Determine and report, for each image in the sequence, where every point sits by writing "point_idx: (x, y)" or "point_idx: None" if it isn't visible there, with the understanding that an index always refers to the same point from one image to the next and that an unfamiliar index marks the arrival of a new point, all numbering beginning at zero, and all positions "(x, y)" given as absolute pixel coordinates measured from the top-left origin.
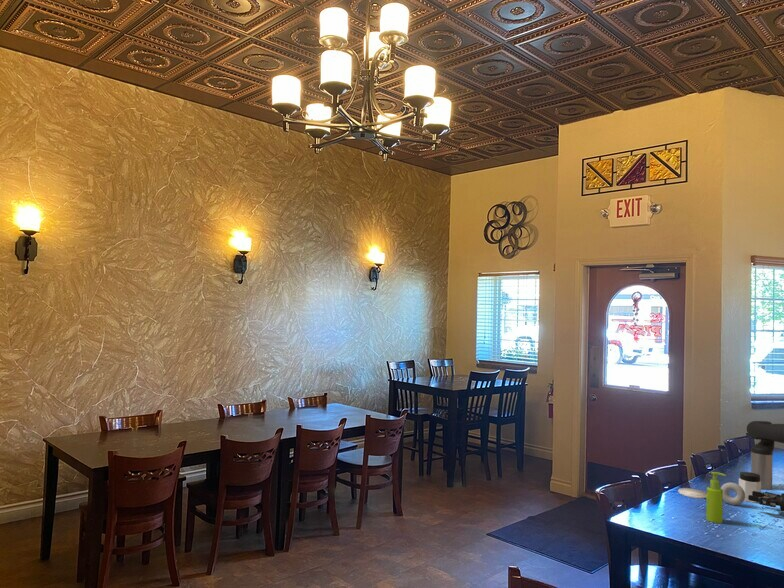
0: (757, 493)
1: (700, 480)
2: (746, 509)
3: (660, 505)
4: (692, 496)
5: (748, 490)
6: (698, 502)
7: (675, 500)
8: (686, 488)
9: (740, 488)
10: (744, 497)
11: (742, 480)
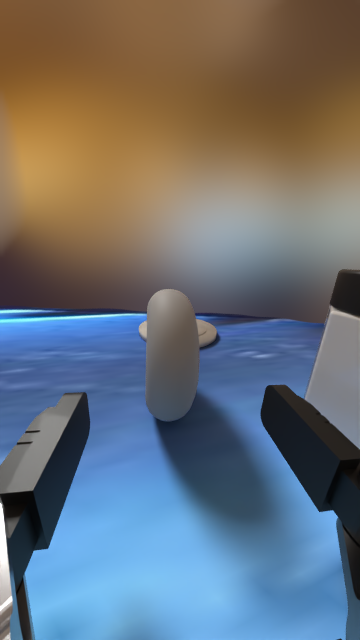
0: (293, 428)
1: (313, 325)
2: (128, 480)
3: (8, 320)
4: (139, 331)
5: (334, 376)
6: (99, 345)
7: (80, 325)
8: (198, 320)
9: (159, 326)
10: (165, 397)
11: (329, 310)
